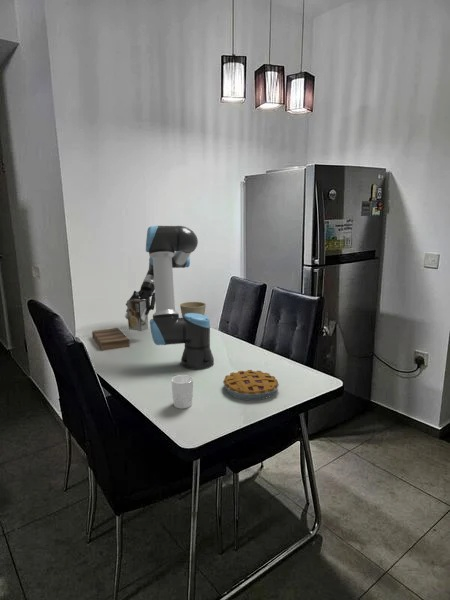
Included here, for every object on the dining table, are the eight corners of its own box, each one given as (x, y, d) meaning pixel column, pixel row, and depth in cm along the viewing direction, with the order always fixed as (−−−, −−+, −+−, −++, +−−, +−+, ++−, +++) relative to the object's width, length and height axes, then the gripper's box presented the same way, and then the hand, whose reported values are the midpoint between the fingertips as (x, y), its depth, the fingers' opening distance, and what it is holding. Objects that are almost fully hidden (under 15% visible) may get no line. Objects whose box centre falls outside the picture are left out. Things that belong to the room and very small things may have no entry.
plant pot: (210, 329, 244) (210, 303, 240) (196, 335, 231) (195, 308, 228) (190, 325, 252) (190, 300, 248) (175, 331, 239) (174, 305, 236)
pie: (232, 405, 149) (232, 393, 148) (216, 382, 170) (216, 370, 169) (287, 398, 155) (288, 386, 154) (265, 376, 176) (266, 365, 175)
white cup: (194, 399, 154) (193, 374, 152) (193, 409, 146) (192, 383, 144) (173, 399, 153) (172, 374, 151) (171, 409, 146) (170, 383, 144)
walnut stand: (129, 346, 213) (129, 339, 212) (102, 350, 206) (101, 343, 205) (117, 334, 233) (117, 327, 232) (92, 337, 227) (92, 331, 226)
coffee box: (148, 328, 222) (147, 299, 219) (141, 331, 217) (140, 302, 213) (135, 326, 226) (134, 298, 223) (127, 329, 221) (126, 300, 218)
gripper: (169, 289, 228) (155, 324, 216) (135, 287, 236) (120, 320, 224) (163, 281, 222) (149, 317, 211) (129, 279, 230) (113, 313, 218)
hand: (134, 318), depth 217 cm, fingers closed on coffee box, 9 cm apart
